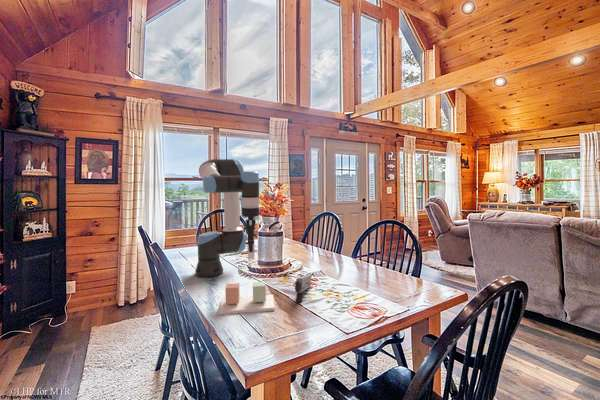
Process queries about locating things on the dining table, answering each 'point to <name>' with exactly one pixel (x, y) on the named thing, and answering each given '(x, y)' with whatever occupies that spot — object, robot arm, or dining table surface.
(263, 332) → the dining table surface
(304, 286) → the grey curved bar
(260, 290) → the pale green block
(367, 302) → the dining table surface
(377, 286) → the dining table surface
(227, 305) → the stand
